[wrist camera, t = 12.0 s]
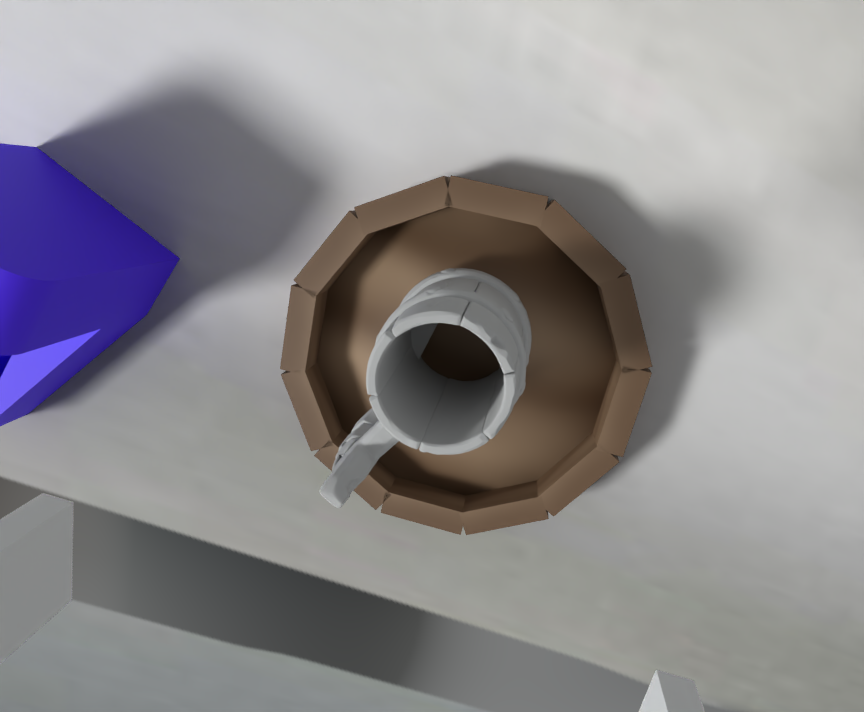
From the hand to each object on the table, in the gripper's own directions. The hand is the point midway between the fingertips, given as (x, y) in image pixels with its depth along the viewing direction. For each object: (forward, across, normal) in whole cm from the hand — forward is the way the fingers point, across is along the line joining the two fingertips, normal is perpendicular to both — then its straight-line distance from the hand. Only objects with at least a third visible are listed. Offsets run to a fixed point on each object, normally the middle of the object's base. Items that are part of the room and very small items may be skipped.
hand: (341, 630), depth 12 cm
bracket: (+23, -27, -4) cm, 36 cm away
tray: (+23, 0, 0) cm, 23 cm away
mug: (+22, -1, 0) cm, 22 cm away
